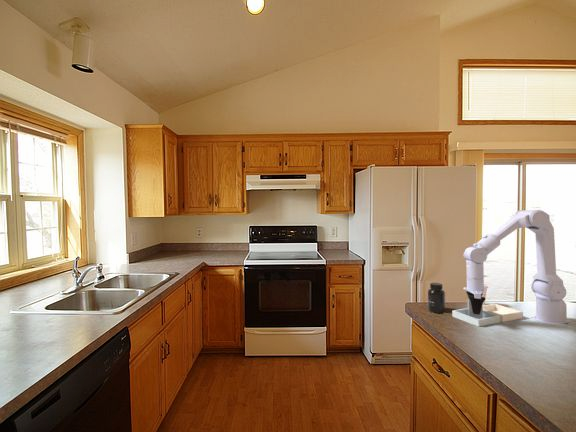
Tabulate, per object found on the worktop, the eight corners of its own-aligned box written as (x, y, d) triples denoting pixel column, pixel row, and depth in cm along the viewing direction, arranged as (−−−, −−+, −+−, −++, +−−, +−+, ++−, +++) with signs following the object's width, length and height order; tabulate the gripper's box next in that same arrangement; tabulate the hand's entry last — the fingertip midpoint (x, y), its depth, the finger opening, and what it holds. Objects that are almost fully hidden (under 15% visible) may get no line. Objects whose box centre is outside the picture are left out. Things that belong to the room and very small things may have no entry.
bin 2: (494, 310, 127) (494, 303, 126) (523, 319, 116) (522, 311, 116) (475, 313, 123) (475, 306, 123) (502, 323, 112) (502, 315, 112)
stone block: (467, 313, 118) (467, 297, 118) (481, 315, 116) (480, 299, 116) (469, 317, 114) (468, 301, 114) (482, 319, 112) (482, 302, 112)
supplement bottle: (426, 311, 127) (426, 284, 127) (429, 307, 132) (428, 281, 132) (444, 314, 123) (443, 286, 123) (446, 310, 128) (445, 283, 128)
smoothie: (490, 308, 129) (490, 277, 129) (474, 307, 130) (474, 276, 130) (484, 304, 135) (483, 274, 135) (469, 303, 137) (468, 273, 137)
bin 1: (473, 314, 123) (473, 307, 123) (500, 323, 112) (500, 315, 112) (452, 317, 119) (452, 310, 119) (478, 328, 108) (478, 320, 108)
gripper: (461, 273, 123) (462, 305, 124) (465, 280, 110) (465, 316, 111) (481, 274, 120) (482, 307, 120) (487, 282, 107) (487, 319, 107)
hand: (475, 311), depth 115 cm, fingers closed on stone block, 4 cm apart
